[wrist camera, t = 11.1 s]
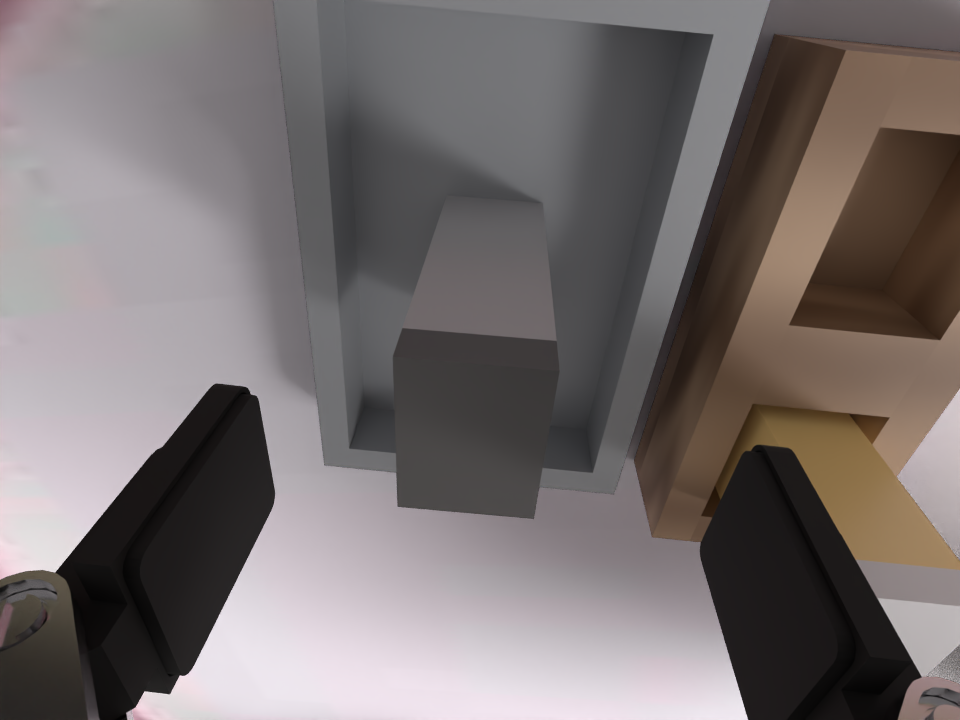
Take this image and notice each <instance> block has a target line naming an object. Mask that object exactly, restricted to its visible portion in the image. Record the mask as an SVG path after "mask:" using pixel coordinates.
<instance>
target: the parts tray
mask: <svg viewBox="0 0 960 720" xmlns="http://www.w3.org/2000/svg"><path fill="white" fill-rule="evenodd" d="M769 3H770V0H273V6H274V15H275V24H276V33H277V42H278V51H279V60H280V69H281V78H282V87H283V96H284V105H285V114H286V123H287V132H288V141H289V150H290V159H291V168H292V178H293V187H294V196H295V205H296V214H297V223H298V232H299V241H300V250H301V259H302V268H303V277H304V286H305V295H306V304H307V313H308V322H309V331H310V340H311V349H312V358H313V367H314V377H315V386H316V395H317V404H318V413H319V422H320V431H321V440H322V449H323V458H324V465H326V466H336V467H346V468H356V469H366V470H376V471H386V472H396V443H395V413H394V383H393V354H394V351H395V348H396V345H397V342H398V339H399V336H400V333H401V330H402V327H403V324H404V321H405V318H406V315H407V313H408V310H409V307H410V304H411V301H412V298H413V295H414V292H415V289H416V286H417V283H418V280H419V277H420V274H421V271H422V268H423V265H424V262H425V259H426V256H427V253H428V250H429V247H430V244H431V241H432V238H433V235H434V232H435V229H436V226H437V223H438V220H439V217H440V214H441V211H442V208H443V205H444V202H445V199H446V196H447V195H449V196H462V197H474V198H487V199H499V200H512V201H524V202H537V203H543V209H544V219H545V229H546V239H547V249H548V259H549V269H550V279H551V289H552V299H553V309H554V319H555V329H556V339H557V349H558V359H559V369H560V372H559V378H558V383H557V389H556V395H555V401H554V406H553V412H552V418H551V423H550V429H549V435H548V440H547V446H546V452H545V457H544V463H543V469H542V475H541V480H540V486H539V487H545V488H555V489H565V490H575V491H585V492H595V493H605V494H614V493H615V490H616V487H617V484H618V481H619V477H620V474H621V471H622V468H623V465H624V462H625V458H626V455H627V452H628V449H629V446H630V443H631V439H632V436H633V433H634V430H635V427H636V424H637V420H638V417H639V414H640V411H641V408H642V405H643V401H644V398H645V395H646V392H647V389H648V386H649V383H650V379H651V376H652V373H653V370H654V367H655V364H656V360H657V357H658V354H659V351H660V348H661V345H662V341H663V338H664V335H665V332H666V329H667V326H668V322H669V319H670V316H671V313H672V310H673V307H674V303H675V300H676V297H677V294H678V291H679V288H680V285H681V281H682V278H683V275H684V272H685V269H686V266H687V262H688V259H689V256H690V253H691V250H692V247H693V243H694V240H695V237H696V234H697V231H698V228H699V224H700V221H701V218H702V215H703V212H704V209H705V205H706V202H707V199H708V196H709V193H710V190H711V187H712V183H713V180H714V177H715V174H716V171H717V168H718V164H719V161H720V158H721V155H722V152H723V149H724V145H725V142H726V139H727V136H728V133H729V130H730V126H731V123H732V120H733V117H734V114H735V111H736V107H737V104H738V101H739V98H740V95H741V92H742V89H743V85H744V82H745V79H746V76H747V73H748V70H749V66H750V63H751V60H752V57H753V54H754V51H755V47H756V44H757V41H758V38H759V35H760V32H761V28H762V25H763V22H764V19H765V16H766V13H767V9H768V6H769Z"/></svg>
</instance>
